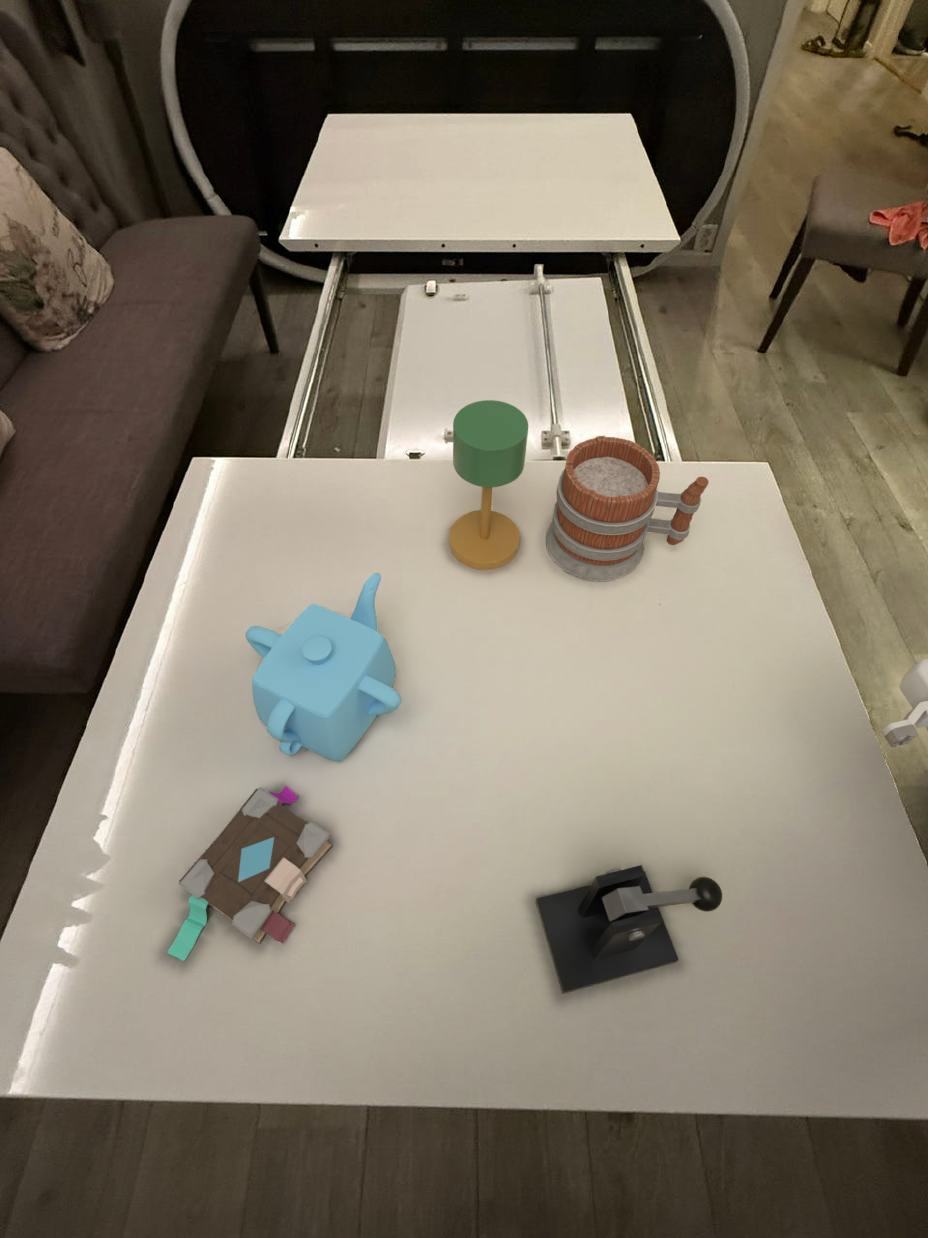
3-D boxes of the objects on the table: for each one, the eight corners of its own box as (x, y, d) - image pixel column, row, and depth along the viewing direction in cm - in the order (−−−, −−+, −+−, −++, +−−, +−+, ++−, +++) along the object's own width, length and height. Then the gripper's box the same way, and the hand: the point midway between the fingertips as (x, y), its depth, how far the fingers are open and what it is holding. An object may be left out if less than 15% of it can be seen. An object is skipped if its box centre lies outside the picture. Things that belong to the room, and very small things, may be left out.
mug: (548, 504, 110) (560, 424, 97) (678, 517, 108) (707, 439, 96) (542, 577, 102) (554, 500, 89) (682, 592, 100) (714, 517, 88)
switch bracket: (642, 873, 78) (671, 833, 68) (676, 962, 73) (713, 934, 63) (535, 901, 77) (548, 864, 66) (562, 994, 72) (581, 970, 61)
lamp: (530, 558, 103) (546, 441, 86) (464, 578, 101) (466, 461, 84) (503, 510, 109) (512, 390, 91) (439, 527, 107) (437, 407, 89)
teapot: (410, 757, 86) (404, 701, 75) (268, 783, 84) (241, 729, 73) (387, 631, 96) (379, 565, 85) (260, 651, 94) (235, 586, 83)
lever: (697, 882, 75) (720, 871, 73) (711, 914, 73) (734, 903, 71) (596, 893, 67) (618, 880, 65) (608, 929, 65) (631, 917, 63)
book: (238, 1009, 71) (225, 1001, 66) (147, 937, 74) (129, 926, 70) (362, 836, 80) (357, 820, 76) (276, 780, 84) (267, 762, 80)
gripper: (1011, 627, 63) (869, 659, 61) (1200, 859, 52) (1033, 907, 50) (969, 665, 68) (836, 695, 66) (1133, 883, 57) (979, 928, 55)
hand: (922, 788), depth 58 cm, fingers open, 8 cm apart
